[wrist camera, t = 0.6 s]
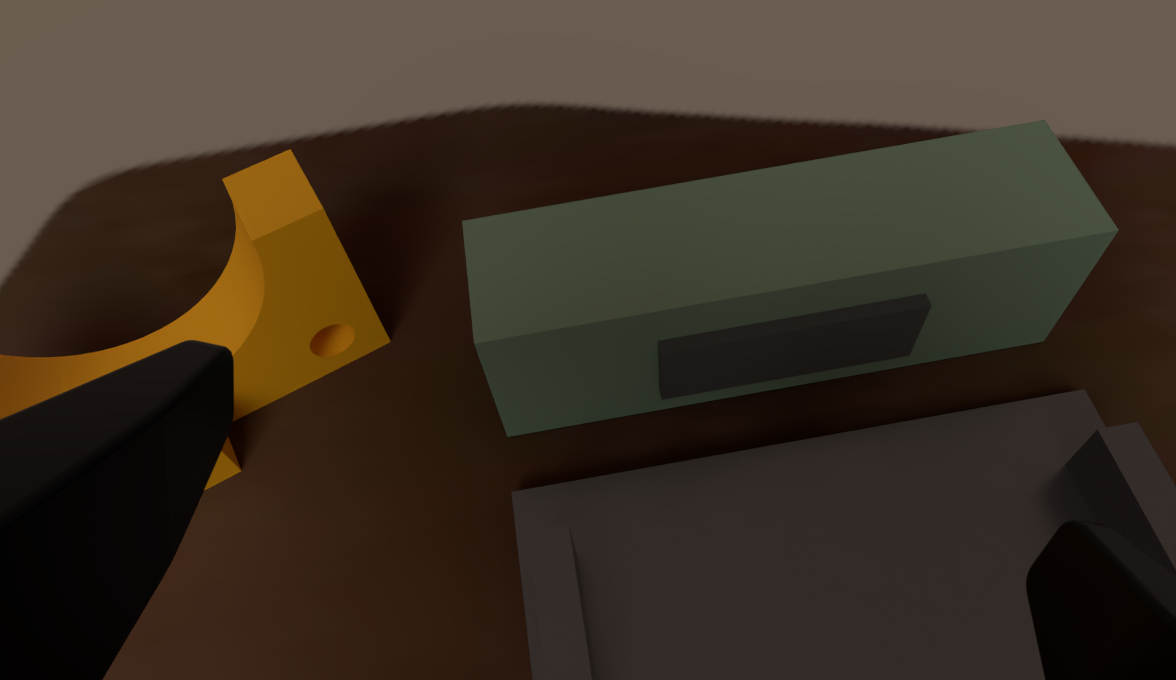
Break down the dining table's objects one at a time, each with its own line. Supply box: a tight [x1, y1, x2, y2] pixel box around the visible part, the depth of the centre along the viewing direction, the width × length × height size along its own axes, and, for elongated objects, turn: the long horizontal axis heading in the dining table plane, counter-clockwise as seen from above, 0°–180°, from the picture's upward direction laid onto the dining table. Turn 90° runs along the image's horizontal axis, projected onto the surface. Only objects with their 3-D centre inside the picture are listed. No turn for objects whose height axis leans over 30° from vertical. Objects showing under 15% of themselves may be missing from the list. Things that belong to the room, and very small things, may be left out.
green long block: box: [462, 120, 1118, 437], centre depth 24 cm, size 4×16×5 cm, turn 99°
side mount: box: [511, 389, 1176, 680], centre depth 20 cm, size 8×16×3 cm, turn 99°
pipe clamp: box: [0, 149, 391, 490], centre depth 23 cm, size 12×4×6 cm, turn 120°
